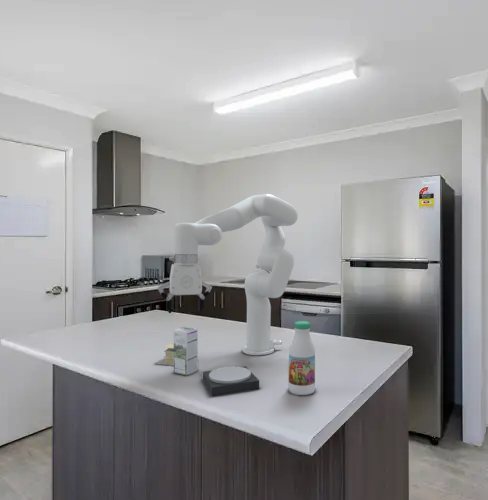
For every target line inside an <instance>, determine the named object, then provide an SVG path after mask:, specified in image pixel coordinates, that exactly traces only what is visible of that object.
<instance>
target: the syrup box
mask: <svg viewBox="0 0 488 500" xmlns="http://www.w3.org/2000/svg"><path fill="white" fill-rule="evenodd" d="M198 329H199V328H197V327H189V326H181V327H178V328H175V329H173V343H174V365H173V373H174V374H178V375H182V376H189V375H192V374H193V373H196V372H198V371H199V370H198V369H199V368H198V367H199V366H198V363H199V362H198V361H199V359H198V358H199V357H198V355H199V354H198V353H199V350H198V347H199V346H198V343H199V342H198V341H199V339H198V338H199V337H198V336H199V330H198Z"/></svg>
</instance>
